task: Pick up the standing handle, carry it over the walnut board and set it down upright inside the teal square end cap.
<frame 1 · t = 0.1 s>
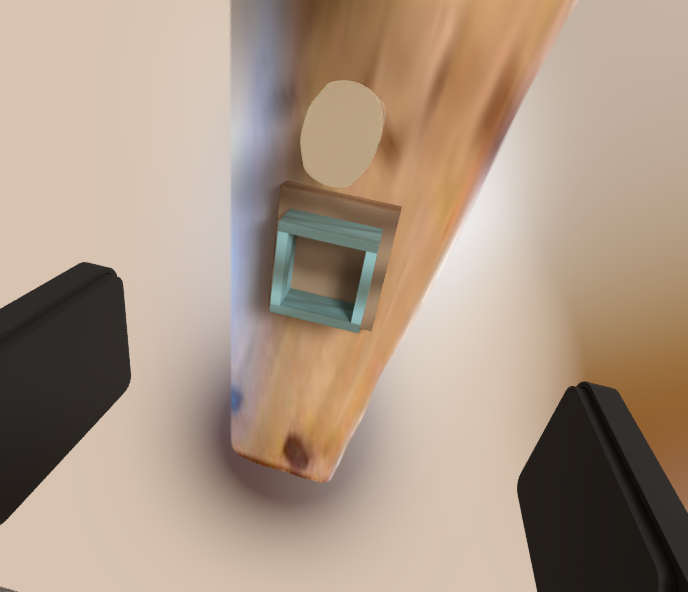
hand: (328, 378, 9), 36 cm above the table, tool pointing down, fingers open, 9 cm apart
handle: (369, 112, 41), on the table
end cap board: (332, 256, 48), on the table
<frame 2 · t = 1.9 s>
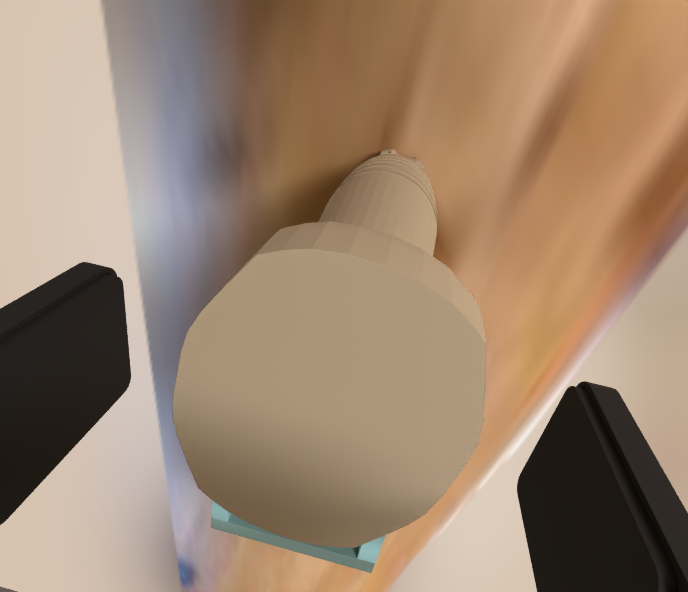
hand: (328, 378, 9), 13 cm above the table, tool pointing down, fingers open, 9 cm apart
handle: (393, 182, 20), on the table
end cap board: (325, 413, 28), on the table
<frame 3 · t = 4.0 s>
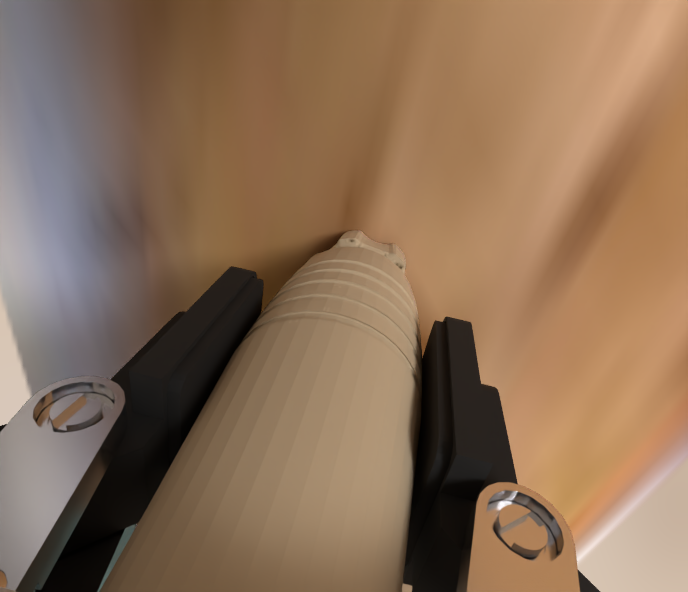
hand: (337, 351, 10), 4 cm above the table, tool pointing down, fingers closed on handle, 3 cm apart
handle: (362, 273, 14), on the table, touching gripper
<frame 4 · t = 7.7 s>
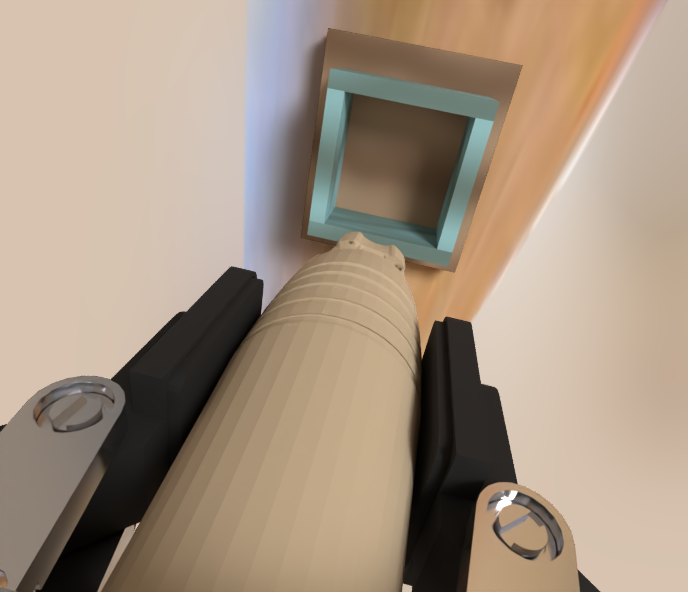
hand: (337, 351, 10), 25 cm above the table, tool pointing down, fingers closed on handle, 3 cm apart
handle: (361, 275, 14), point 21 cm above the table, touching gripper
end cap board: (399, 156, 32), on the table
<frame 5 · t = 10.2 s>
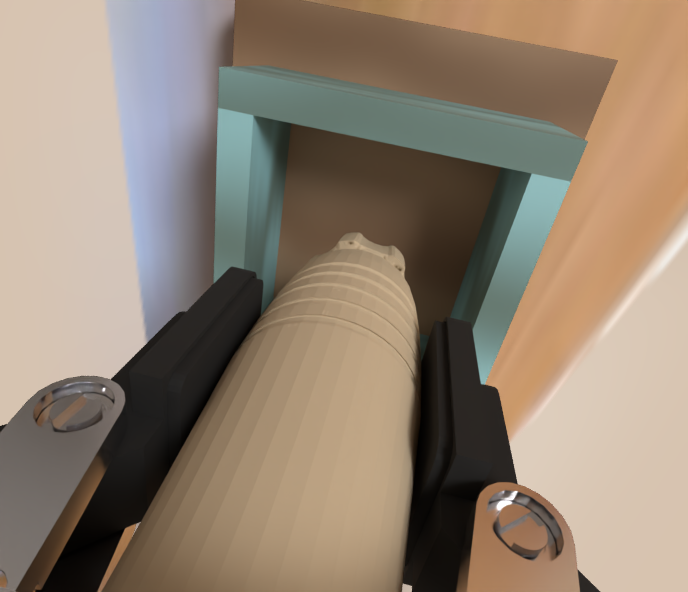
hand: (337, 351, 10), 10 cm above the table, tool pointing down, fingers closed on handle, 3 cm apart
handle: (361, 275, 14), point 6 cm above the table, touching gripper
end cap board: (380, 216, 19), on the table
when the fingers open (8 cm above the table, at t = 11.5 s): handle drops 2 cm, resting on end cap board.
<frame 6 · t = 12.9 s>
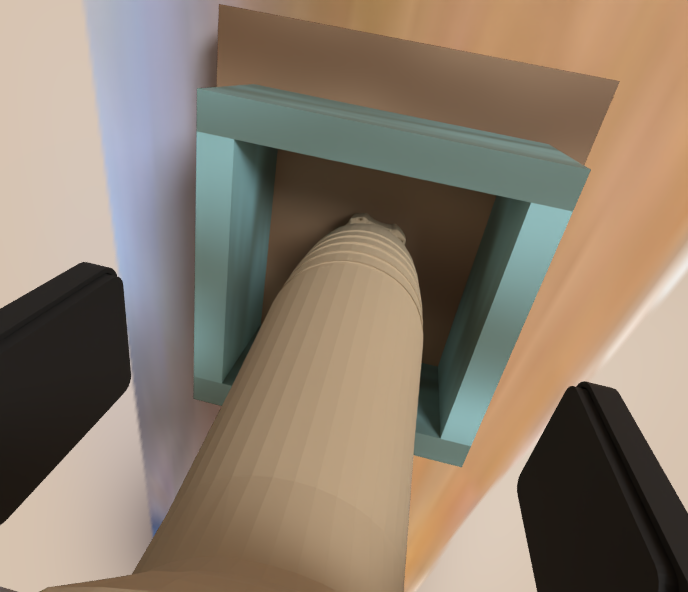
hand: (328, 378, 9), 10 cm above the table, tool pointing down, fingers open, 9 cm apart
handle: (367, 251, 16), point 2 cm above the table, touching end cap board
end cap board: (372, 238, 18), on the table
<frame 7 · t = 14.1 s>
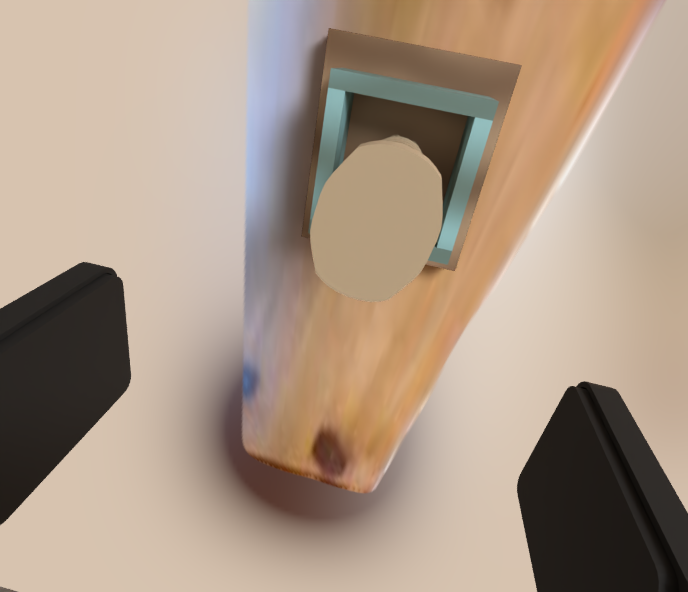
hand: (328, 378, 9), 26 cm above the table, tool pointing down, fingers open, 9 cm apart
handle: (398, 158, 31), point 2 cm above the table, touching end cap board
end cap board: (399, 156, 32), on the table
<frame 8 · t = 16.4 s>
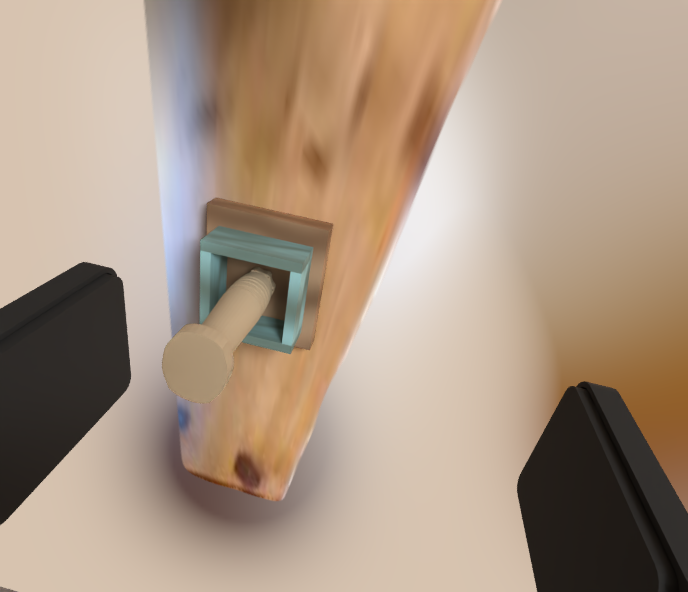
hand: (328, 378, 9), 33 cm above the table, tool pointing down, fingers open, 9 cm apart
handle: (262, 279, 45), point 2 cm above the table, touching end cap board
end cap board: (268, 273, 47), on the table
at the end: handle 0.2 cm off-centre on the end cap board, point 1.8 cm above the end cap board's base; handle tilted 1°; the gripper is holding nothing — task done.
